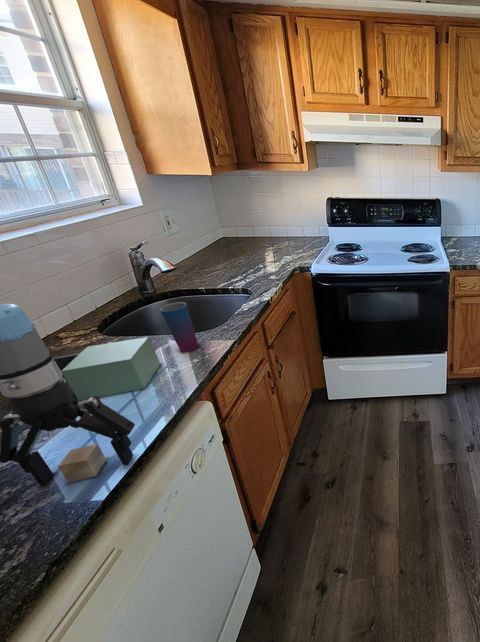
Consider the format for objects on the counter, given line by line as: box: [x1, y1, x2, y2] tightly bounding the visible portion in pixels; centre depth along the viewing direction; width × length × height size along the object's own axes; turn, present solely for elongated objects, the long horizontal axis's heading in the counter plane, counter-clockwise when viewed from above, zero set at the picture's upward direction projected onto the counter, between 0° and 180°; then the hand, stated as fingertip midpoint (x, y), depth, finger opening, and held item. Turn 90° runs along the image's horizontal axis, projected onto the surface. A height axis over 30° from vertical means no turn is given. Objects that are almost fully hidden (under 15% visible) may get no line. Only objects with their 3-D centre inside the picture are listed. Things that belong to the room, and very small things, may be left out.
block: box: [57, 443, 107, 483], centre depth 74 cm, size 4×4×4 cm
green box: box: [61, 336, 161, 402], centre depth 101 cm, size 15×13×10 cm
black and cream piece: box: [0, 353, 80, 397], centre depth 97 cm, size 19×11×8 cm, turn 109°
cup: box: [159, 301, 199, 353], centre depth 116 cm, size 7×7×15 cm
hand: (89, 470), depth 75 cm, fingers open, 13 cm apart
